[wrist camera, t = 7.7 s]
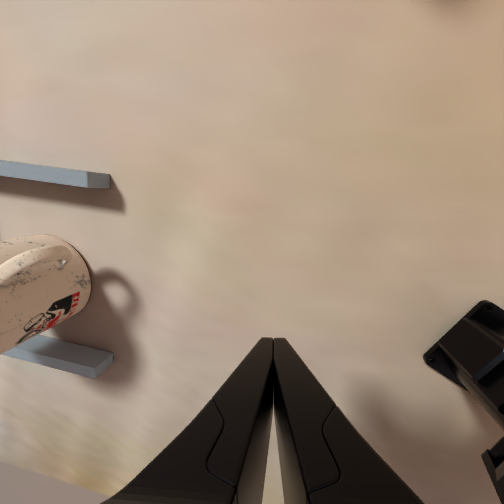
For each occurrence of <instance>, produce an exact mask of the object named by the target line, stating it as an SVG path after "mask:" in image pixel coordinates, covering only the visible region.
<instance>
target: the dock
mask: <svg viewBox="0 0 504 504" xmlns="http://www.w3.org/2000/svg"><path fill="white" fill-rule="evenodd" d="M0 175H1V176H8V177H15V178H22V179H29V180H36V181H43V182H50V183H58V184H65V185H72V186H79V187H86V188H109V189H110V174H103V173H95V172H88V171H80V170H72V169H65V168H57V167H49V166H41V165H34V164H26V163H18V162H11V161H3V160H0ZM2 355H6V356H10V357H14V358H17V359H21V360H25V361H29V362H33V363H36V364H40V365H44V366H48V367H52V368H55V369H59V370H63V371H67V372H70V373H74V374H78V375H82V376H86V377H89V378H93V379H96V378H97V377H98V376H99V375H100V374H101V373H102V372H104V371H105V370H106V369H107V368H108V367H109V366H110V365H111V364H112V363H113V353H111V352H107V351H103V350H99V349H95V348H91V347H86V346H82V345H78V344H74V343H70V342H66V341H62V340H58V339H54V338H50V337H46V336H41V335H36V336H34V337H32V338H30V339H29V340H27V341H25V342H23V343H21V344H19V345H17V346H16V347H14V348H12V349H10V350H8V351H6V352H4V353H3V354H2Z"/></svg>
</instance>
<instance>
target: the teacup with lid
mask: <svg viewBox="0 0 504 504" xmlns="http://www.w3.org/2000/svg"><path fill="white" fill-rule="evenodd" d="M90 292H91V280H90V275H89V271H88V269H87V266H86V264H85V262H84V260H83V259H82V257H81V256H80V255H79V253H78V252H77V251H76V250H75V249H74V248H73V247H72V246H70V245H69V244H68V243H66V242H65V241H63V240H61V239H59V238H57V237H54V236H49V235H35V236H29V237H22V238H15V239H9V240H2V241H0V355H1V354H3V353H4V352H6V351H8V350H10V349H12V348H14V347H16V346H17V345H19V344H21V343H23V342H25V341H27V340H29V339H30V338H32V337H34V336H36V335H38V334H40V333H42V332H43V331H45V330H47V329H49V328H51V327H53V326H55V325H57V324H58V323H60V322H62V321H64V320H66V319H68V318H70V317H71V316H73V315H75V314H77V313H78V312H80V311H81V310H82V309H83V308H84V306H85V305H86V303H87V302H88V299H89V296H90Z"/></svg>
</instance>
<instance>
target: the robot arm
mask: <svg viewBox="0 0 504 504" xmlns="http://www.w3.org/2000/svg"><path fill="white" fill-rule="evenodd" d="M486 306H488V308H487V309H485V310H484V308H485V307H486ZM430 358H433V359H432V360H429V359H430ZM423 359H424V361H425V362H426V363H427V364H428V365H429V366H431V367H432V368H434V369H435V370H437V371H438V372H440V373H441V374H443V375H444V376H446V377H447V378H449V379H450V380H452V381H453V382H455V383H456V384H458V385H459V386H461V387H463V388H464V389H466V390H467V391H469V392H470V393H471V394H472V395H473V396H474V397H475V399H476V400H477V401H478V402H479V403H480V404H481V405H482V406H483V408H484V409H485V410H486V411H487V412H488V413H489V414H490V416H491V417H492V418H493V419H494V420H495V421H496V422H497V423H498V425H499V426H500V427H501V428H502V429H503V430H504V310H503V309H501V308H500V307H498V306H497V305H495V304H493V303H492V302H490V301H487V300H483V301H480V302H479V303H478V304H477V305H476V306H474V307H473V308H472V309H471V310H470V311H469V312H468V313H467V314H466V315H465V316H464V317H463V318H462V319H461V320H460V321H459V322H458V323H457V324H456V325H454V326H453V327H452V328H451V329H450V330H449V331H448V332H447V333H446V334H445V335H444V336H443V337H442V338H441V339H440V340H439V341H438V342H437V343H435V344H434V345H433V346H432V347H431V348H430V349H429V350H428V351H427V352H426V353H425V354H424V355H423ZM273 390H274V416H275V425H276V433H277V442H278V451H279V459H280V468H281V477H282V485H283V494H284V503H285V504H424V503H423V502H422V501H421V500H420V498H419V497H418V496H417V495H416V494H415V493H414V492H413V491H412V490H411V489H410V488H409V487H408V486H407V485H406V484H405V482H404V481H403V480H402V479H401V478H400V477H399V476H398V475H397V474H396V473H395V472H394V471H393V470H392V469H391V468H390V466H389V465H388V464H387V463H386V462H385V461H384V460H383V459H382V458H381V457H380V456H379V455H378V454H377V453H376V452H375V450H374V449H373V448H372V447H371V446H370V445H369V444H368V443H367V442H366V440H365V439H364V438H363V437H362V436H361V435H360V434H359V433H358V431H357V430H356V429H355V428H354V426H353V425H352V424H351V423H350V422H349V420H348V419H347V418H346V417H345V415H344V414H343V413H342V411H341V410H340V409H339V407H338V406H336V404H335V402H334V401H333V400H332V398H331V397H330V396H329V395H328V393H327V392H326V391H325V389H324V388H323V387H322V385H321V384H320V383H319V382H318V380H317V379H316V378H315V376H314V375H313V374H312V372H311V371H310V370H309V368H308V367H307V366H306V365H305V363H304V362H303V361H302V359H301V358H300V357H299V355H298V354H297V353H296V352H295V350H294V349H293V348H292V346H291V345H290V344H289V342H288V341H287V340H286V339H285V338H274V340H273V338H266V337H262V338H261V339H260V340H259V341H258V342H257V344H256V345H255V346H254V347H253V349H252V350H251V351H250V352H249V353H248V355H247V356H246V357H245V358H244V359H243V361H242V362H241V363H240V364H239V366H238V367H237V368H236V369H235V370H234V372H233V373H232V374H231V375H230V376H229V378H228V379H227V380H226V381H225V383H224V384H223V385H222V386H221V387H220V389H219V390H218V391H217V392H216V394H215V395H214V396H213V397H212V399H211V400H210V401H209V402H208V403H207V404H206V405H205V407H204V408H203V409H202V410H201V411H200V412H199V414H198V415H197V416H196V417H195V418H194V419H193V420H192V422H191V423H190V424H189V425H188V426H187V427H186V428H185V429H184V430H183V431H182V432H181V433H180V434H179V435H178V436H177V437H176V438H175V439H174V440H173V441H172V442H171V443H170V444H169V445H168V446H167V447H166V448H165V449H164V450H163V451H162V452H161V453H160V454H159V455H158V456H157V457H156V458H155V459H154V460H153V461H151V462H150V463H149V464H148V465H147V466H146V467H145V468H144V469H143V470H142V471H141V472H140V473H139V474H138V475H137V476H136V477H135V478H134V479H133V480H132V481H131V482H130V483H129V484H127V485H126V486H125V487H124V488H123V489H121V490H120V491H119V492H118V493H116V494H115V495H113V496H112V497H111V498H109V499H107V500H106V501H104V502H102V503H100V504H262V497H263V489H264V481H265V473H266V465H267V456H268V448H269V440H270V432H271V423H272V415H273ZM481 457H482V459H483V461H484V464H485V466H486V468H487V471H488V473H489V475H490V478H491V480H492V482H493V485H494V487H495V489H496V492H497V494H498V496H499V499H500V501H501V503H502V504H504V436H503V437H502V438H501V439H500V440H499V441H498V442H497V443H496V444H495V445H494V446H493V447H492V448H491V449H490V450H488V449H487V450H486V451H485V452H484V453H483V454H482V455H481Z"/></svg>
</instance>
